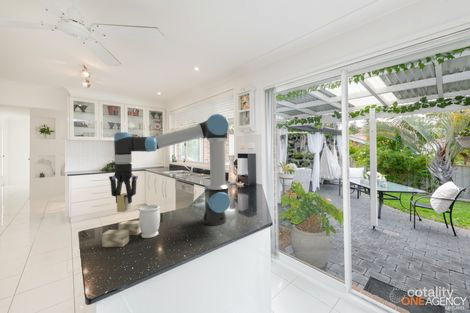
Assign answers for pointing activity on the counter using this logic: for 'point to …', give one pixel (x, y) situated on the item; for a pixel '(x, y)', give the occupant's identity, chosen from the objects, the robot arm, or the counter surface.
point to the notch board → (120, 234)
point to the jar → (149, 220)
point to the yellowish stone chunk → (121, 202)
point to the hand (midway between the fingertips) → (124, 209)
